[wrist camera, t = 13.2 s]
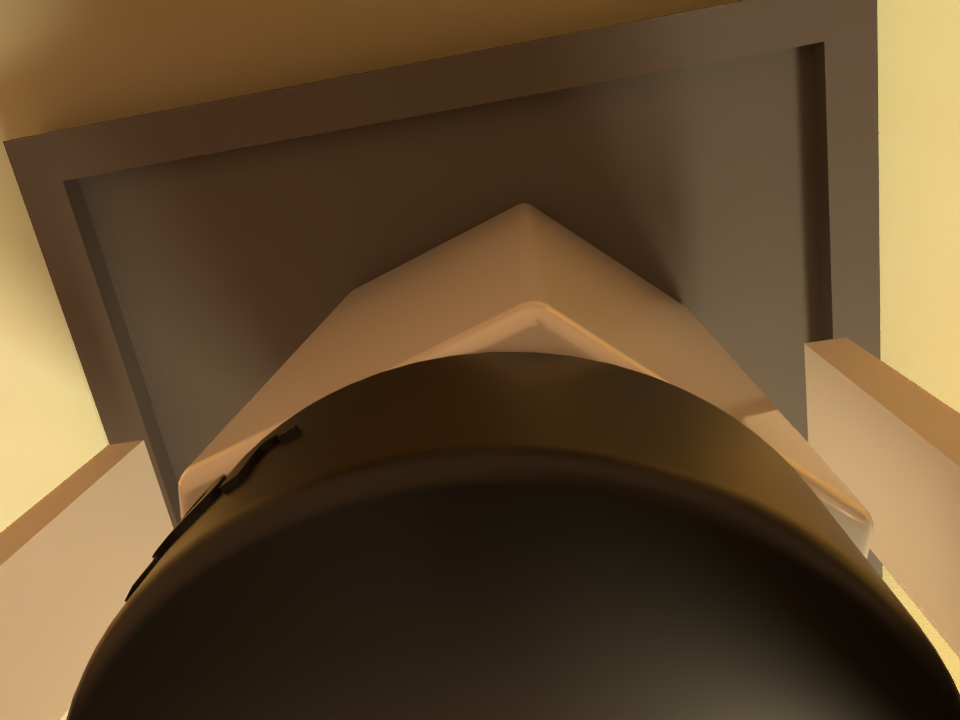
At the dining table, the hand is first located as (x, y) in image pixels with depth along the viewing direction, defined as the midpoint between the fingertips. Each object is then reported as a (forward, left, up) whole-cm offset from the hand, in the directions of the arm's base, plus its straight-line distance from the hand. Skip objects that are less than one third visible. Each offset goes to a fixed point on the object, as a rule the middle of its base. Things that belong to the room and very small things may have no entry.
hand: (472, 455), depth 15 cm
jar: (-1, 0, -4) cm, 4 cm away
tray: (0, 0, -4) cm, 4 cm away
